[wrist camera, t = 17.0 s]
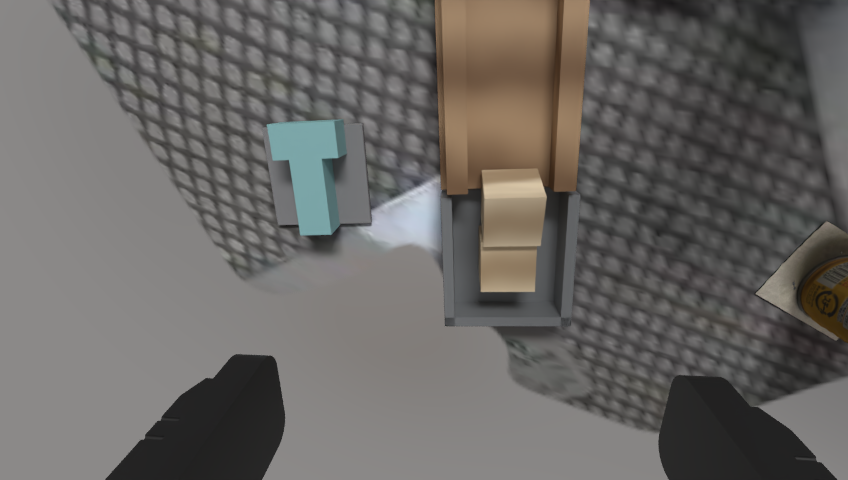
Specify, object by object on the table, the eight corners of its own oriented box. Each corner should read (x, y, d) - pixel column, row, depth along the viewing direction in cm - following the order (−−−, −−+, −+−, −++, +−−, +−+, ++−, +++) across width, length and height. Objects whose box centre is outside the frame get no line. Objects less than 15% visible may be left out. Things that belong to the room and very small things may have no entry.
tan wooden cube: (481, 169, 31) (484, 198, 28) (537, 168, 31) (546, 197, 27) (480, 215, 33) (483, 246, 30) (532, 214, 33) (540, 246, 30)
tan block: (478, 225, 34) (480, 241, 31) (528, 224, 34) (537, 241, 30) (478, 270, 36) (480, 291, 32) (526, 270, 35) (534, 291, 31)
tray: (442, 189, 34) (440, 198, 31) (569, 185, 33) (580, 194, 30) (446, 307, 38) (445, 326, 35) (561, 307, 37) (570, 326, 34)
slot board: (433, -65, 28) (430, -88, 25) (586, -78, 28) (605, -104, 24) (442, 184, 34) (440, 194, 30) (569, 180, 33) (583, 191, 29)
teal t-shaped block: (266, 124, 31) (284, 235, 33) (334, 121, 30) (347, 234, 33) (280, 122, 33) (296, 226, 36) (343, 119, 33) (354, 224, 35)
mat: (264, 127, 34) (262, 127, 33) (363, 123, 33) (361, 123, 32) (280, 223, 36) (278, 225, 36) (371, 221, 35) (371, 222, 35)
